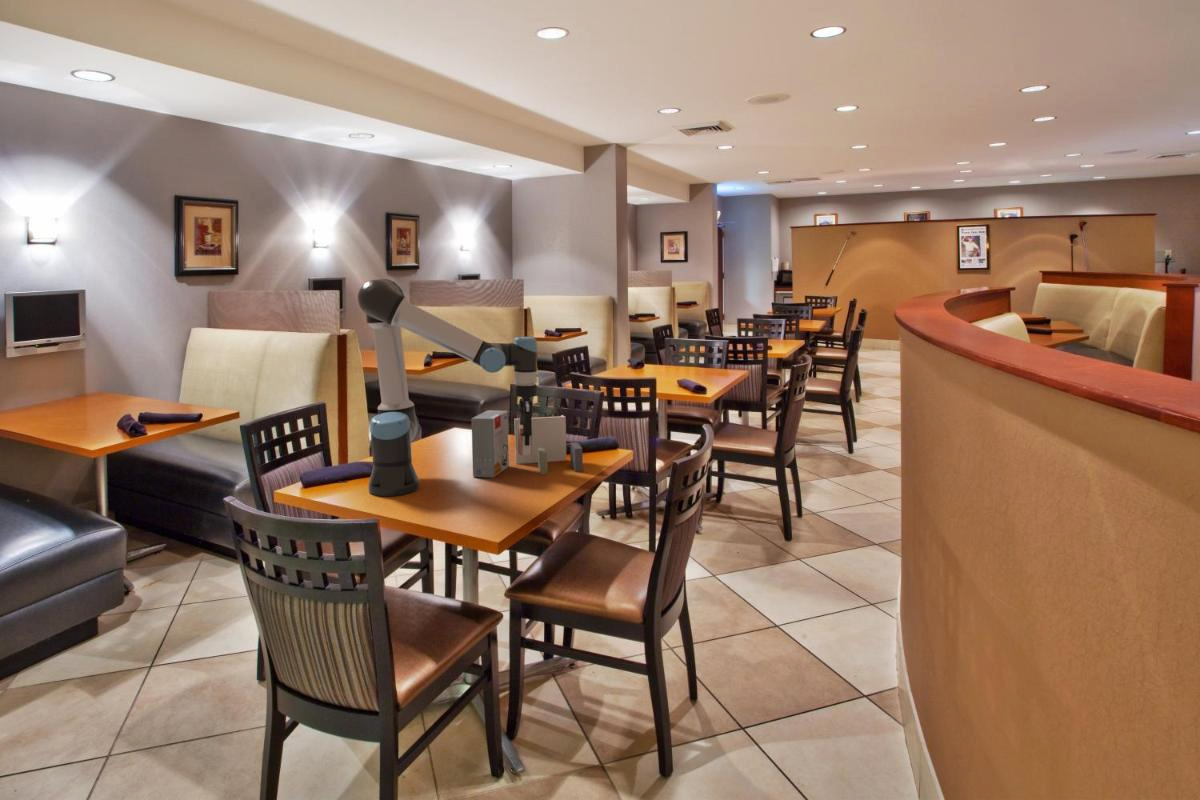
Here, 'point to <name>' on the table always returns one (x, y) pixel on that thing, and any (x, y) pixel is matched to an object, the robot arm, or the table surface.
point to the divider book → (542, 460)
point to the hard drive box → (490, 443)
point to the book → (521, 440)
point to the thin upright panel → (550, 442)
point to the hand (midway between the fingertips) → (525, 451)
